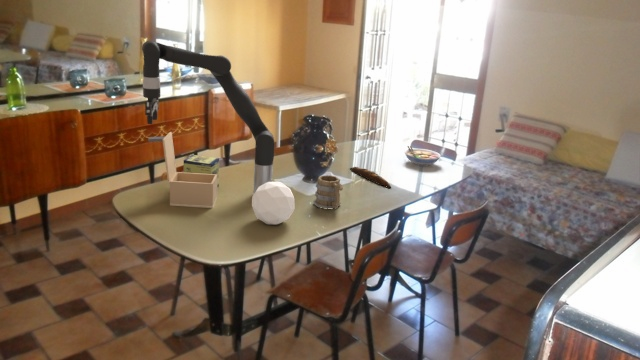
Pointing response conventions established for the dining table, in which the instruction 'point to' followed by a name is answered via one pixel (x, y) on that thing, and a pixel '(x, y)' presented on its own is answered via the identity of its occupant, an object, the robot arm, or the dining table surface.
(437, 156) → the ramen bowl
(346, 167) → the dining table surface
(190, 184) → the carton
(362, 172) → the bread
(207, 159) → the protein box
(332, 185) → the tankard
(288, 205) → the ball
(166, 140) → the lid flap
